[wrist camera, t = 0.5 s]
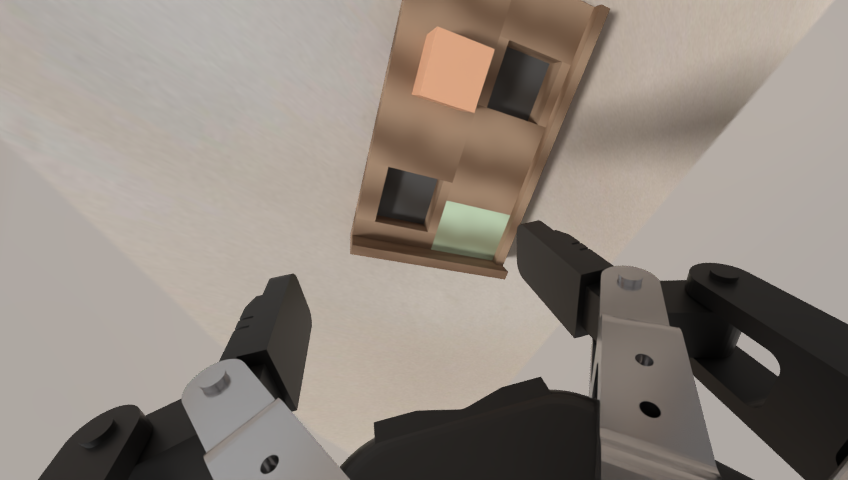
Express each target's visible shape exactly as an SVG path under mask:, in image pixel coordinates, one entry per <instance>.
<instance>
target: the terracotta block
mask: <svg viewBox="0 0 848 480" xmlns="http://www.w3.org/2000/svg"><path fill="white" fill-rule="evenodd" d="M494 50H495V49H493V48H491V47H488V46H486V45H483V44H481V43H478V42H476V41H473V40H471V39H468V38H466V37H463V36H461V35H458V34H456V33H453V32H451V31H448V30H446V29H443V28H441V27H438V26H437V27H436V28H435V29H433V30H432V31H431V32H430V33H428V34H427V36H426V40H425V44H424V48H423V52H422V56H421V60H420V64H419V68H418V72H417V76H416V80H415V84H414V88H413V92H412V95H414V96H417V97H420V98H423V99H426V100H430V101H433V102H436V103H439V104H442V105H445V106H448V107H451V108H454V109H457V110H460V111H466V112H472V113H475V109H476V106H477V103H478V100H479V97H480V94H481V91H482V88H483V85H484V81H485V78H486V75H487V72H488V69H489V66H490V63H491V60H492V57H493V54H494Z"/></svg>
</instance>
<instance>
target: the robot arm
mask: <svg viewBox="0 0 848 480" xmlns="http://www.w3.org/2000/svg"><path fill="white" fill-rule="evenodd" d="M517 265H518V270H519V272H520V274H521V276H522V278H523V279H524V280H525V281H526V283H527V284H528V285H529V286H530V287H531V288H532V289H533V291H534V292H535V293H536V294H537V295H538V296H539V298H540V299H541V300H542V301H543V302H544V303H545V305H546V306H547V307H548V308H549V309H550V310H551V312H552V313H553V314H554V315H555V316H556V317H557V319H558V320H559V321H560V322H561V323H562V324H563V326H564V327H565V328H566V329H567V330H568V331H569V332H570V334H571V335H572V336H573V337H574V338H577V337H581V336H585V335H590V336H591V337H592V338H593V339H592V346H591V365H590V383H589V397H588V396H585V395H581V394H578V393H574V392H569V391H562V390H549V389H548V387H547V386H546V384H545V383H544V381H543V379H542V378H541V377H538V378H534V379H531V380H527V381H524V382H520V383H516V384H512V385H509V386H505V387H502V388H500V389H498V390H496V391H495V392H493V393H491V394H489V395H488V396H486V397H484V398H482V399H481V400H479V401H477V402H475V403H474V404H472V405H470V406H469V407H467V408H464V409H460V410H426V411H414V412H410V413H407V414H403V415H399V416H396V417H392V418H388V419H385V420H381V421H377V422H374V433H375V438H374V439H372V440H370V441H368V442H367V443H365V444H364V445H363V446H361V447H360V448H359V449H357V450H356V451H355V452H354V453H353V454H352V455H351V456H350V457H348V459H347V460H346V461H345V462H344V463H343V464H342V465H341V466H340V467H339V466H338V465H337V464H336V463H335V462H334V460H333V459H332V458H331V457H330V456H329V455H328V453H326V451H325V450H324V449H323V448H322V446H321V445H320V444H319V443H318V442H317V441H316V439H315V438H314V437H313V436H312V435H311V434H310V433H309V431H308V430H307V429H306V428H305V427H304V426H303V424H302V423H301V422H300V421H299V420H298V419H297V417H296V416H295V415H294V414H293V413H292V411H296V410H297V408H298V402H299V396H300V390H301V385H302V379H303V373H304V368H305V362H306V356H307V350H308V345H309V339H310V333H311V327H312V320H311V314H310V310H309V307H308V305H307V302H306V299H305V297H304V294H303V292H302V289H301V287H300V284H299V281H298V279H297V277H296V275H295V274H289V275H284V276H279V277H275V278H271V279H269V281H268V284H267V286H266V288H265V291H264V293H263V295H260V296H256V297H255V298H254V299H253V300H252V301H251V302H250V303H249V304H248V305H247V306H246V307H245V309H244V311H243V313H242V315H241V317H240V321H238V323H237V326H236V328H235V331H234V332H233V334H232V336H231V338H230V340H229V342H228V344H227V346H226V348H225V351H224V352H223V354H222V356H221V359H220V361H219V362H217V363H215V364H213V365H211V366H209V367H207V368H206V369H204V370H203V371H201V372H200V373H199V374H198V375H196V376H195V377H194V378H193V379H192V380H191V381H190V382H189V384H188V385H187V386H186V388H185V390H184V392H183V394H182V399H180V400H178V401H176V402H173V403H171V404H169V405H167V406H165V407H163V408H161V409H159V410H156V411H154V412H152V413H150V414H148V415H146V416H145V415H144V414H143V412H142V411H141V410H140V409H139V408H138V407H137V406H135V405H123V406H119V407H116V408H113V409H111V410H109V411H106V412H105V413H102V414H100V415H99V416H97V417H96V418H94V419H92V420H91V421H89V422H88V423H87V424H85V425H84V426H83V427H81V428H80V429H79V430H78V431H77V432H76V433H74V434H73V435H72V437H70V438H69V440H68V441H67V442H66V443H65V444H64V445H63V447H62V448H61V450H60V451H59V452H58V453H57V455H56V456H55V457H54V459H53V460H52V462H51V463H50V464H49V466H48V467H47V468H46V470H45V471H44V472H43V474H42V475H41V476H40V478H39V479H38V480H753V479H751V478H749V477H747V476H745V475H744V474H742V473H740V472H738V471H736V470H734V469H732V468H730V467H728V466H726V465H724V464H722V463H720V462H718V461H716V460H715V459H714V455H713V451H712V447H711V443H710V440H709V436H708V432H707V428H706V424H705V420H704V416H703V412H702V408H701V404H700V400H699V397H698V392H697V389H696V385H695V381H694V377H693V375H694V376H695V377H696V378H697V379H698V380H699V381H700V382H701V383H702V384H703V385H704V386H705V387H706V388H707V389H708V390H710V391H711V392H712V393H713V394H714V395H715V396H716V397H717V398H718V399H719V400H720V401H721V402H723V404H725V405H726V406H727V407H728V408H729V409H730V410H731V411H732V412H733V413H734V414H735V415H736V416H738V417H739V418H740V419H741V420H742V421H743V422H744V423H745V424H746V425H747V426H748V427H749V428H751V430H752V431H754V432H755V433H756V434H757V435H758V436H759V437H760V438H761V439H762V440H763V441H764V442H765V443H766V444H768V446H769V447H771V448H772V449H773V450H774V451H775V452H776V453H777V454H778V455H779V456H780V457H781V458H782V459H783V460H784V461H785V462H787V463H788V464H789V465H790V466H791V467H792V468H793V469H794V470H795V471H796V472H797V473H798V474H799V475H800V476H802V477H803V478H804V479H805V480H848V324H846V323H844V322H842V321H840V320H839V319H837V318H835V317H833V316H831V315H829V314H827V313H825V312H823V311H821V310H819V309H817V308H815V307H814V306H812V305H810V304H808V303H806V302H804V301H802V300H800V299H798V298H796V297H794V296H792V295H790V294H789V293H787V292H785V291H782V290H781V289H779V288H777V287H775V286H773V285H771V284H769V283H768V282H766V281H764V280H762V279H760V278H758V277H756V276H754V275H752V274H750V273H748V272H746V271H744V270H742V269H739V268H736V267H733V266H729V265H724V264H717V263H701V264H697V265H694V266H692V267H691V269H690V270H689V274H688V277H687V280H677V281H659V279H658V278H657V277H656V276H655V275H653V274H652V273H650V272H648V271H646V270H643V269H640V268H637V267H631V266H613V265H612V264H610V263H609V262H607V261H606V260H605V259H603V258H602V257H600V256H599V255H598V254H596V253H595V252H593V251H592V250H590V249H588V247H586V246H585V245H583V244H582V243H580V242H579V241H578V240H576V239H575V238H574V237H572V236H571V235H569V234H566V233H563V232H560V231H557V230H552V229H551V228H550V227H548V226H547V225H546V224H544V223H543V222H541V221H534V222H529V223H525V224H520V225H518V227H517ZM741 332H743V333H744V334H746V335H747V336H749V337H750V338H751V339H753V340H754V341H756V342H757V343H759V344H760V345H762V346H763V347H765V348H766V349H768V350H769V351H770V352H771V353H772V354H773V355H774V356H775V357H776V359H777V361H778V363H779V365H780V374H779V376H776V375H775V374H774V373H772V372H771V371H769V370H768V369H767V368H766V367H764V366H763V365H762V364H760V363H759V362H758V361H756V360H755V359H754V358H752V357H751V356H749V355H748V354H747V353H745V352H744V351H742V350H741V349H740V348H739V347H737V346H736V344H737V341H738V339H739V336H740V334H741Z"/></svg>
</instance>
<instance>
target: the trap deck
mask: <svg viewBox="0 0 848 480" xmlns="http://www.w3.org/2000/svg"><path fill="white" fill-rule="evenodd" d="M609 10H610V8H608V7H606V6H604V5H599V6H596V7H593V6H591V5H589V4H587V3H585V2H583V1H581V0H402V3H401V8H400V12H399V17H398V21H397V26H396V30H395V35H394V39H393V44H392V48H391V53H390V58H389V62H388V67H387V71H386V76H385V80H384V85H383V89H382V94H381V98H380V103H379V108H378V112H377V117H376V121H375V126H374V130H373V135H372V139H371V144H370V148H369V153H368V158H367V162H366V167H365V171H364V176H363V180H362V185H361V189H360V194H359V198H358V203H357V208H356V212H355V217H354V221H353V226H352V230H351V242H350V254H354V255H360V256H366V257H372V258H378V259H384V260H391V261H397V262H403V263H409V264H415V265H421V266H427V267H433V268H439V269H445V270H451V271H457V272H463V273H469V274H476V275H482V276H488V277H494V278H500V279H505V278H506V276H507V273H508V271H507V270H506V269H505V268H504V267H503V264H504V261H505V259H506V257H507V254H508V252H509V249H510V247H511V245H512V242H513V240H514V237H515V235H516V233H517V227H518V225H520V223H521V221H522V218H523V216H524V214H525V211H526V209H527V206H528V204H529V202H530V199H531V197H532V194H533V192H534V190H535V187H536V185H537V183H538V180H539V178H540V175H541V173H542V171H543V168H544V166H545V163H546V161H547V159H548V156H549V154H550V151H551V149H552V147H553V144H554V142H555V139H556V137H557V135H558V132H559V130H560V128H561V125H562V123H563V120H564V118H565V116H566V113H567V111H568V108H569V106H570V104H571V101H572V99H573V96H574V94H575V92H576V89H577V87H578V84H579V82H580V80H581V77H582V75H583V73H584V70H585V68H586V65H587V63H588V61H589V58H590V56H591V53H592V51H593V49H594V46H595V44H596V41H597V39H598V37H599V34H600V32H601V30H602V27H603V25H604V22H605V20H606V18H607V15H608V13H609ZM437 26H438V27H441V28H443V29H446V30H448V31H451V32H453V33H456V34H458V35H461V36H463V37H466V38H468V39H471V40H473V41H476V42H478V43H481V44H483V45H486V46H488V47H491V48H493V49H495V50H494V54H493V57H492V60H491V63H490V66H489V69H488V72H487V75H486V78H485V81H484V85H483V88H482V91H481V94H480V97H479V100H478V103H477V106H476V109H475V113H472V112H466V111H460V110H457V109H454V108H451V107H448V106H445V105H442V104H439V103H436V102H433V101H430V100H426V99H423V98H420V97H417V96H414V95H412V92H413V88H414V84H415V80H416V76H417V72H418V68H419V64H420V60H421V56H422V52H423V48H424V44H425V40H426V36H427V34H428V33H430V32H431V31H432V30H433V29H435V28H436V27H437Z"/></svg>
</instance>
